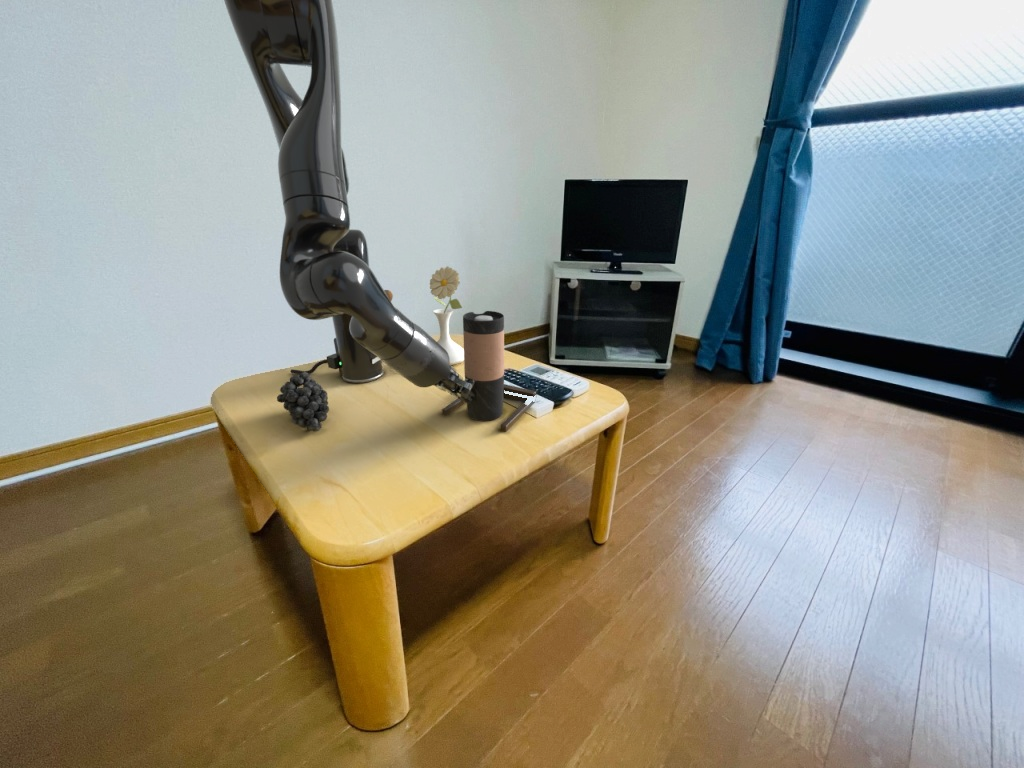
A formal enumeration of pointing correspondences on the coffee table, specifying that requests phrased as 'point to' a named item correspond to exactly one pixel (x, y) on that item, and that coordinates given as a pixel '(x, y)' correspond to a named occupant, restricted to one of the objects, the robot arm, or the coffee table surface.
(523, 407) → the walnut stand
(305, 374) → the fruit
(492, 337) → the travel mug
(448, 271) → the flower in vase
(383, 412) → the coffee table surface
